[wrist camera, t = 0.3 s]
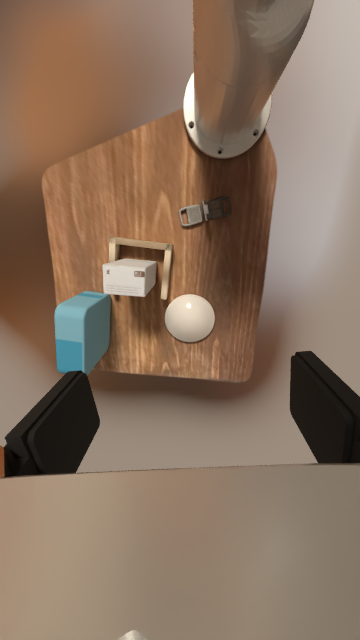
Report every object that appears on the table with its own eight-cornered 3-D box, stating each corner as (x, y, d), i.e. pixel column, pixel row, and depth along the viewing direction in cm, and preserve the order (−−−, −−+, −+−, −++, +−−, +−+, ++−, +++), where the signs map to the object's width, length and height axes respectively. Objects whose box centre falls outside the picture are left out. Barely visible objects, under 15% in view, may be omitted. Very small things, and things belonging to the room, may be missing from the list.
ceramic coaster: (167, 290, 45) (167, 291, 44) (218, 297, 44) (218, 298, 44) (163, 337, 48) (162, 338, 47) (210, 343, 48) (210, 345, 47)
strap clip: (182, 228, 41) (180, 227, 37) (177, 209, 40) (176, 206, 36) (231, 215, 40) (235, 213, 36) (228, 195, 39) (231, 191, 35)
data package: (88, 288, 45) (53, 306, 34) (111, 292, 45) (83, 310, 34) (88, 344, 49) (56, 376, 38) (109, 347, 49) (84, 380, 38)
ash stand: (114, 236, 42) (109, 236, 40) (173, 244, 42) (171, 244, 39) (113, 289, 45) (108, 292, 43) (167, 296, 45) (166, 299, 43)
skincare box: (125, 281, 44) (101, 296, 33) (125, 256, 43) (99, 264, 32) (157, 283, 44) (144, 300, 33) (158, 259, 43) (145, 267, 31)
